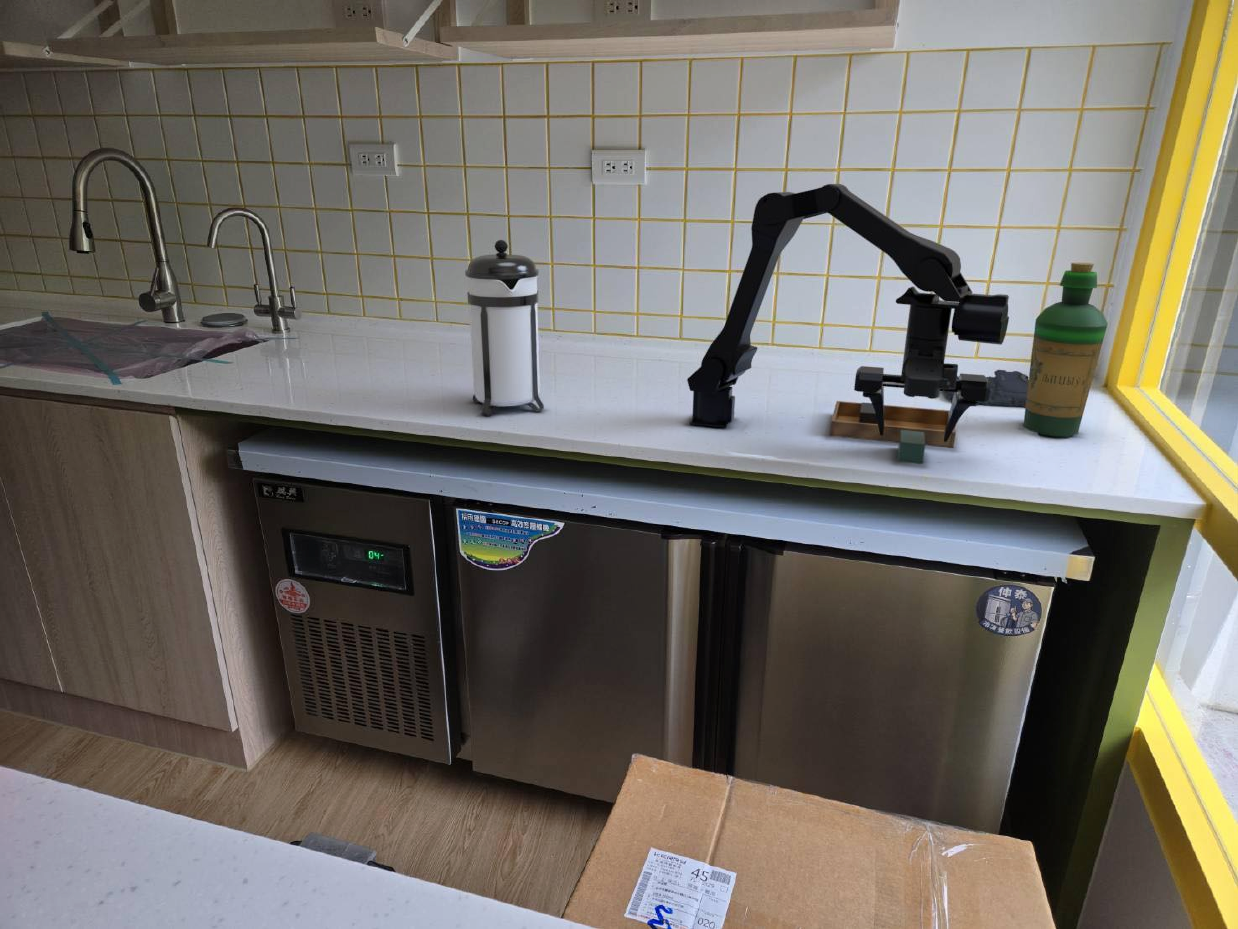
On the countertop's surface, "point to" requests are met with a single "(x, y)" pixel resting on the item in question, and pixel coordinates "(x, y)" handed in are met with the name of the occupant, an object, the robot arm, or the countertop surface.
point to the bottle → (1064, 356)
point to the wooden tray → (892, 423)
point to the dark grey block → (867, 414)
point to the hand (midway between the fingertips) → (913, 438)
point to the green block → (911, 446)
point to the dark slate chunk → (1005, 389)
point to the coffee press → (504, 330)
